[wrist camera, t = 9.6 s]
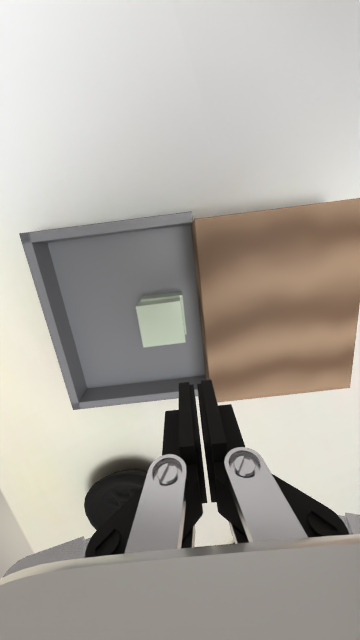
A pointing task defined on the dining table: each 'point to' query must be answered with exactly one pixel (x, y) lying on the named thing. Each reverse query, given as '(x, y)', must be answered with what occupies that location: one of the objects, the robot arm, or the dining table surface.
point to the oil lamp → (112, 495)
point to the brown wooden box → (279, 298)
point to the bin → (117, 306)
